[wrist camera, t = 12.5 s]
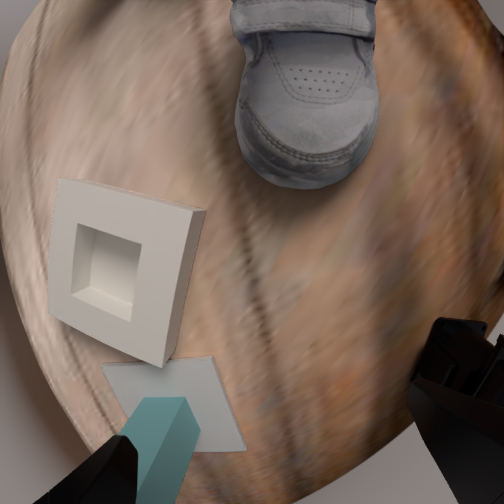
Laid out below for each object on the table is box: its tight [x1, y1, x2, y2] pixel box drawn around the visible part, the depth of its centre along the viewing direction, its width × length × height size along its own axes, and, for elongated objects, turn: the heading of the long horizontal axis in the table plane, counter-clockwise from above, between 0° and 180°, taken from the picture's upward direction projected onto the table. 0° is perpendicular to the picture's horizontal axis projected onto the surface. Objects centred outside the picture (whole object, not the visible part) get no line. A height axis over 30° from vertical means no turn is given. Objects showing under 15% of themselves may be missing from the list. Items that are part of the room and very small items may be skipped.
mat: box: [101, 355, 247, 452], centre depth 22 cm, size 11×11×1 cm
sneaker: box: [230, 0, 380, 190], centre depth 12 cm, size 10×20×10 cm, turn 176°
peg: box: [118, 397, 201, 504], centre depth 16 cm, size 4×4×12 cm
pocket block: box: [48, 178, 206, 368], centre depth 19 cm, size 11×11×3 cm
